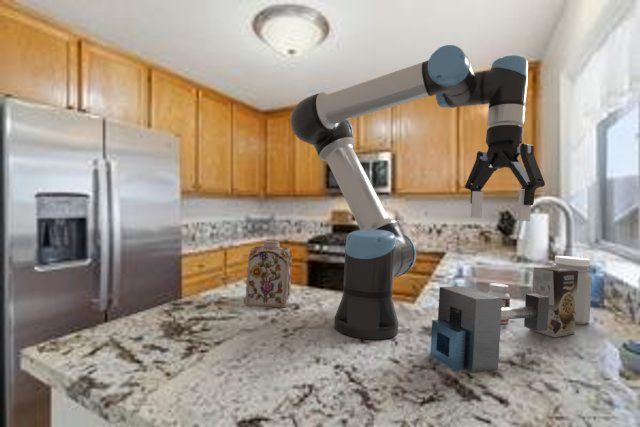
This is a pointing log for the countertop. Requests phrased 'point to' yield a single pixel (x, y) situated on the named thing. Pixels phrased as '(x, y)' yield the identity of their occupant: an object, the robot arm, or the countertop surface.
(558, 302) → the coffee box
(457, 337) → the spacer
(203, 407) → the countertop surface
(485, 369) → the block
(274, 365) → the countertop surface
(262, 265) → the decorative jar
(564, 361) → the countertop surface
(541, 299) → the shaft
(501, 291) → the pill bottle
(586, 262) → the jar
